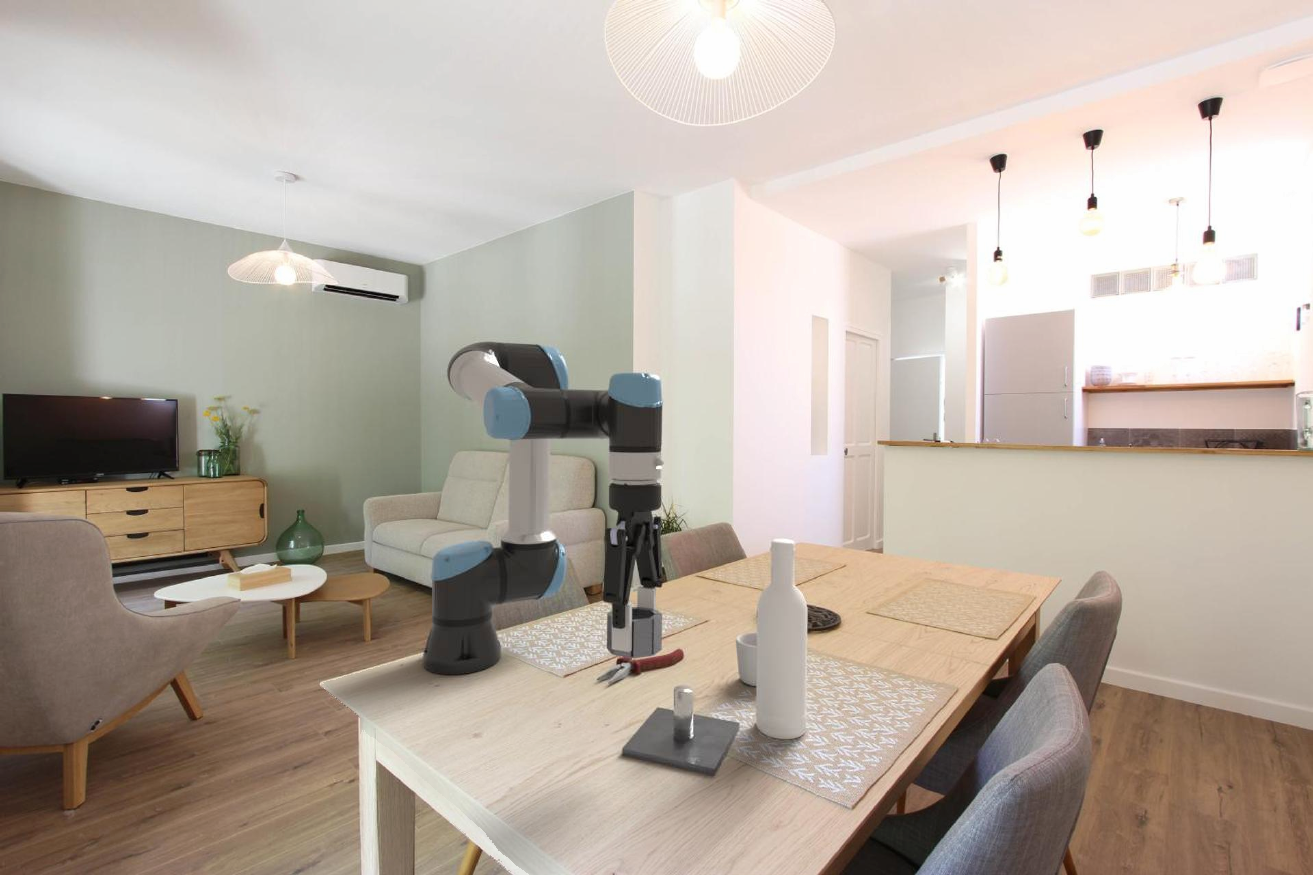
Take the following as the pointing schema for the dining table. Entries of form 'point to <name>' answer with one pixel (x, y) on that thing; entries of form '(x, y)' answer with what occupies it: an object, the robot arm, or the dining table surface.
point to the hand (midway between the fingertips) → (634, 639)
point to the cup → (747, 657)
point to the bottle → (781, 649)
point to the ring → (640, 633)
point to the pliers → (640, 665)
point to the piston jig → (683, 737)
